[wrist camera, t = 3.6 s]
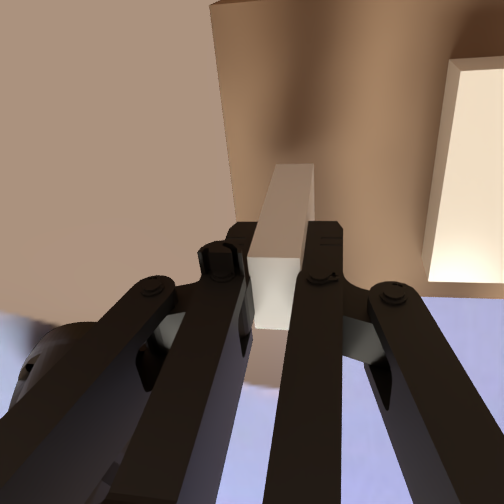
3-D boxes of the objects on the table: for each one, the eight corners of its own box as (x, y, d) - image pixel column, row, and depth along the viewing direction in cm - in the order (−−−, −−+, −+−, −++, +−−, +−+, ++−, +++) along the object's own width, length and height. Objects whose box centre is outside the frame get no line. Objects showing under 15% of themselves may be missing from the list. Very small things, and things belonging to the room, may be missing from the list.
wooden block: (256, 251, 28) (245, 291, 25) (230, -5, 20) (208, 5, 17) (617, 256, 24) (660, 303, 21) (749, -54, 17) (849, -54, 14)
